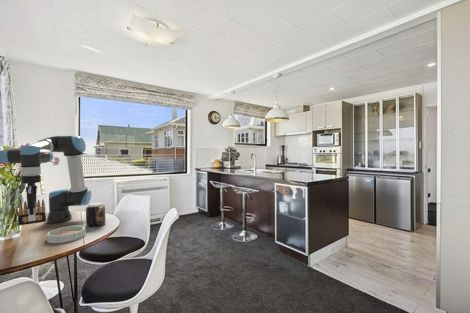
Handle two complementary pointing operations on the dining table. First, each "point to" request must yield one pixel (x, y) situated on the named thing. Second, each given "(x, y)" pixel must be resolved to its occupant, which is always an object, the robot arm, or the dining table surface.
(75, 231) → the octagonal tray
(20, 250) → the dining table surface
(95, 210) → the jar
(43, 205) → the ammunition clip
